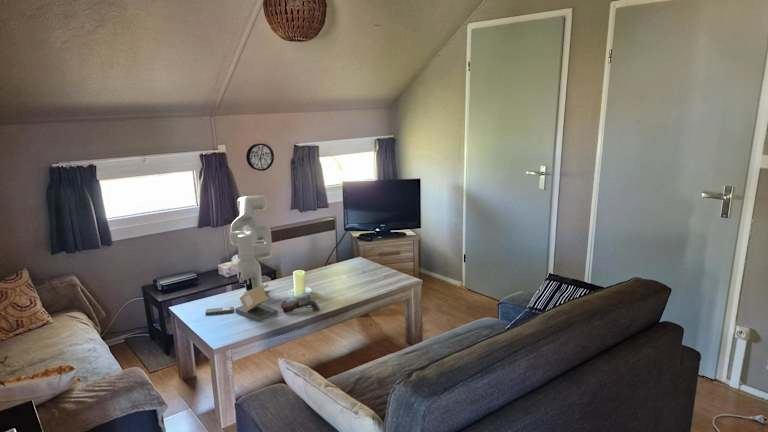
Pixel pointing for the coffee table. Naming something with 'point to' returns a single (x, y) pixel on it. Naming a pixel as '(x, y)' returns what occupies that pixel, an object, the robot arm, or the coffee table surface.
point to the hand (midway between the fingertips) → (249, 290)
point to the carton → (253, 298)
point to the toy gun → (299, 304)
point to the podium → (258, 312)
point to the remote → (219, 310)
